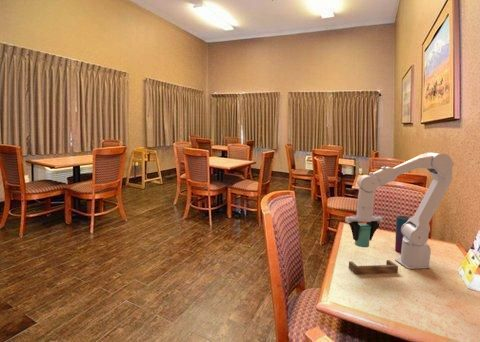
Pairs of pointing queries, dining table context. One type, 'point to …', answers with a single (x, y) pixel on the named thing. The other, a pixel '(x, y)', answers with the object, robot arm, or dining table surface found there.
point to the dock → (374, 268)
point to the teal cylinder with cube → (363, 235)
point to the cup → (399, 231)
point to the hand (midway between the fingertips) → (362, 239)
